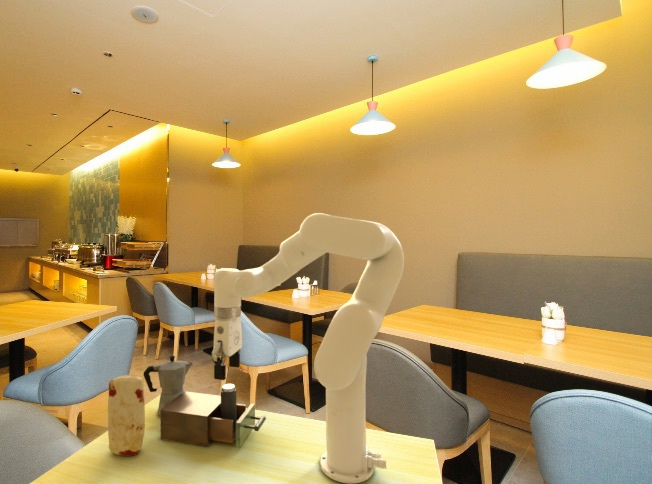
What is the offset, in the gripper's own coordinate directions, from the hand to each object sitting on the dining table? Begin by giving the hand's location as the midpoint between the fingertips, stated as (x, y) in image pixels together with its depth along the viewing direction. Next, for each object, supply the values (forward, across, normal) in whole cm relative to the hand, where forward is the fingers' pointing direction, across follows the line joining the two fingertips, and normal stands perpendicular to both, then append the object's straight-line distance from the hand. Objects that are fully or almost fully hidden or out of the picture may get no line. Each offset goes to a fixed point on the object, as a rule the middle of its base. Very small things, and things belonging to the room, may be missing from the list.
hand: (227, 372), depth 100 cm
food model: (+18, -14, +22) cm, 32 cm away
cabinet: (+18, 0, +10) cm, 21 cm away
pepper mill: (+16, 0, 0) cm, 16 cm away
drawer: (+17, 0, -2) cm, 17 cm away
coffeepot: (+18, +8, +24) cm, 31 cm away
